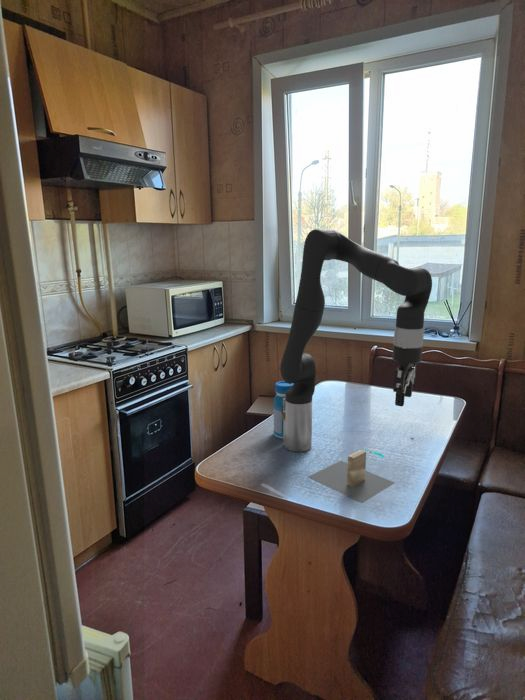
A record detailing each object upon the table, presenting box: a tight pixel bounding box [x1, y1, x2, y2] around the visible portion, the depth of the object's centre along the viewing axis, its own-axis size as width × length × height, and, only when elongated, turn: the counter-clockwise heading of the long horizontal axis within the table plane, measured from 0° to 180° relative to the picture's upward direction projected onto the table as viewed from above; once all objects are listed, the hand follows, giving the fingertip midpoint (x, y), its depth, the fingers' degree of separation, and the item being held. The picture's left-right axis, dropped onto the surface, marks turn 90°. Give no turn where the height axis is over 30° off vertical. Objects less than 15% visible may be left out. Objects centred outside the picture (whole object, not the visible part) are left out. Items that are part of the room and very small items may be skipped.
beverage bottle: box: [272, 380, 294, 439], centre depth 173 cm, size 8×8×20 cm
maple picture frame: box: [347, 449, 367, 487], centre depth 137 cm, size 2×6×9 cm, turn 132°
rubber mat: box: [307, 460, 395, 504], centre depth 139 cm, size 20×16×1 cm
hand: (403, 400), depth 129 cm, fingers open, 8 cm apart
